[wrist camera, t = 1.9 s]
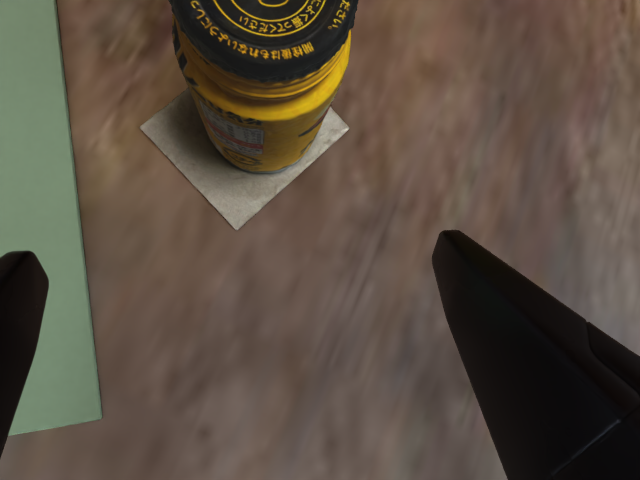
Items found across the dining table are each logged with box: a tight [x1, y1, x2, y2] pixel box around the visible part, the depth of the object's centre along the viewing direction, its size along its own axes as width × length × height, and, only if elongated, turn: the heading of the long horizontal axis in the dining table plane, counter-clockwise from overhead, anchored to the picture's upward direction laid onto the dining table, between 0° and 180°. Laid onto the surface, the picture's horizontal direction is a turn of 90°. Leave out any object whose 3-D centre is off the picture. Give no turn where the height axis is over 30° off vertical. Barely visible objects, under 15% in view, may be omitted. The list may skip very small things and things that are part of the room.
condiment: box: [140, 0, 358, 230], centre depth 17 cm, size 7×8×12 cm
